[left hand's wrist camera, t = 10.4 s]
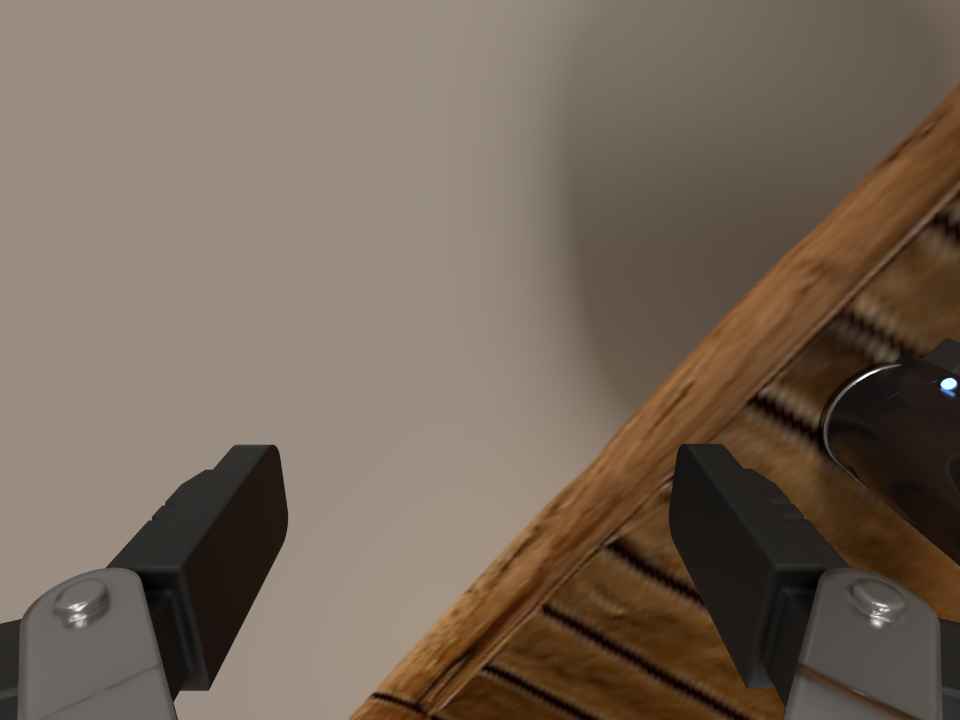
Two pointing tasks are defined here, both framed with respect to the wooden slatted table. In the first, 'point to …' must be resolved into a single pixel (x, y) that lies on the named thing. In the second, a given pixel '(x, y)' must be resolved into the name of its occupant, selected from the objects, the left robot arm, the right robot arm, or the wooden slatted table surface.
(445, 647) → the wooden slatted table surface
